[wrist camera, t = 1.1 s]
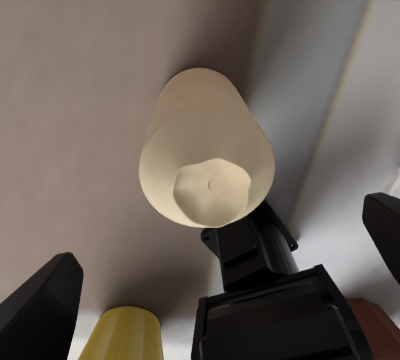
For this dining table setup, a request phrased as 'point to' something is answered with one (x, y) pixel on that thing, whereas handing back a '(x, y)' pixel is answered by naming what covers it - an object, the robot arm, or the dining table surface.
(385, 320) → the muffin
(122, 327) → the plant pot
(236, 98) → the candle
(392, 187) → the cup
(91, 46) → the dining table surface
